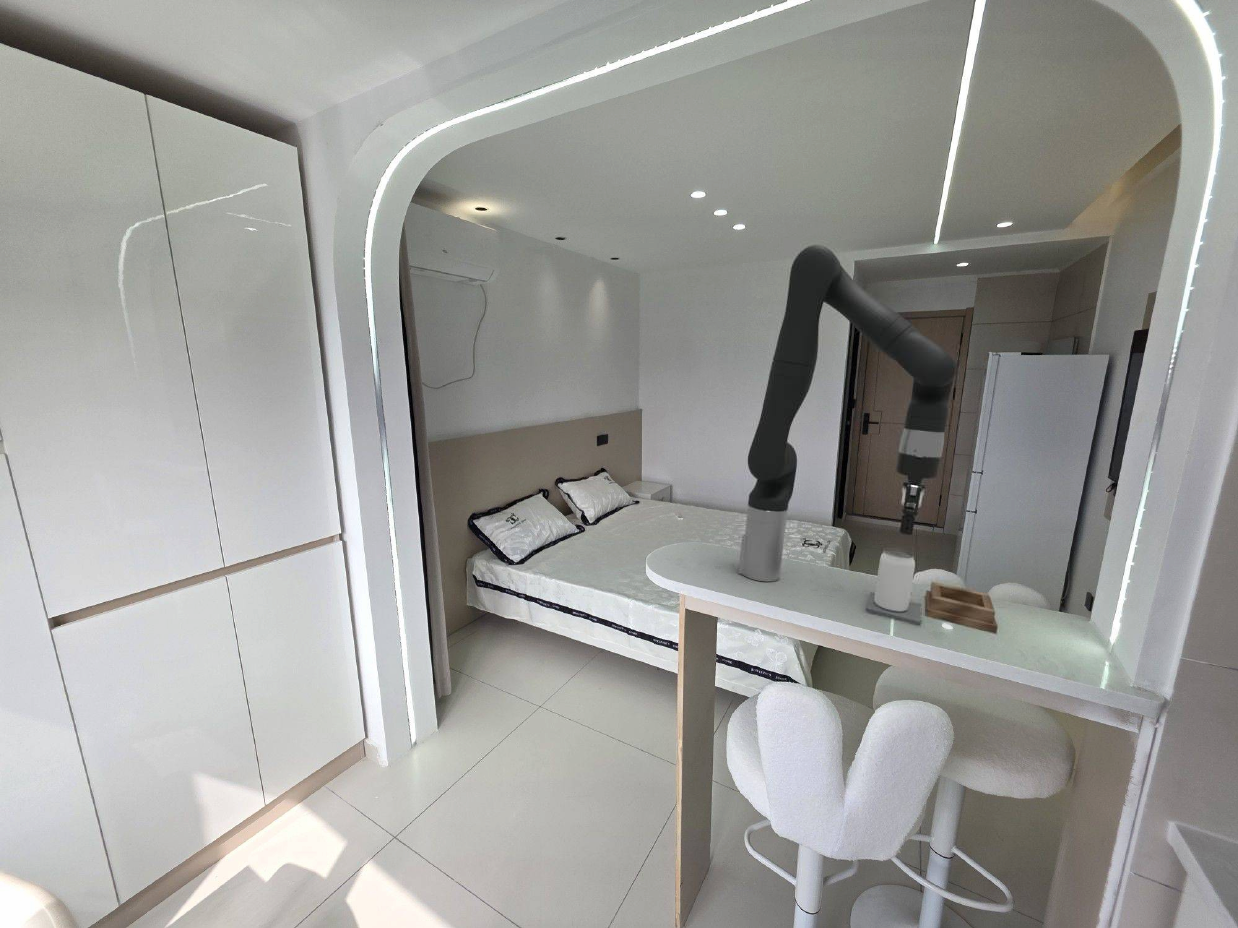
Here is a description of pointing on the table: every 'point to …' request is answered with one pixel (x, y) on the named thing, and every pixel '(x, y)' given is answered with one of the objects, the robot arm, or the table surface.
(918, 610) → the mat
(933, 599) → the socket block
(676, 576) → the table surface
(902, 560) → the can
